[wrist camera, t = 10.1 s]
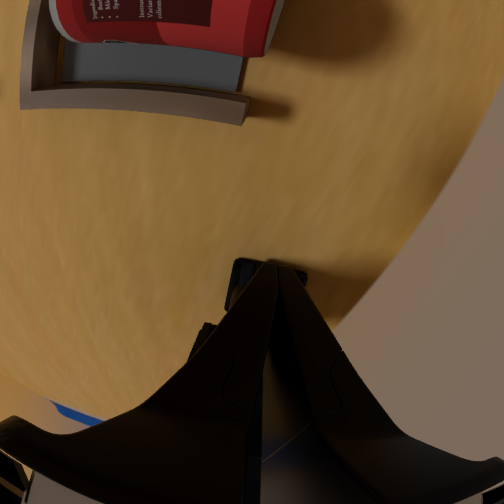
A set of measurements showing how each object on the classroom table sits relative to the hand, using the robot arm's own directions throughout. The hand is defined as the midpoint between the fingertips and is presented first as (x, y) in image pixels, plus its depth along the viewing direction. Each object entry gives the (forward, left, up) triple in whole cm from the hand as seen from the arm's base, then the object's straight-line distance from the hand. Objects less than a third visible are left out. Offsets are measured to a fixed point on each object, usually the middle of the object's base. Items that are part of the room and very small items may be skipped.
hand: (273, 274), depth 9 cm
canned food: (+10, +2, -9) cm, 13 cm away
